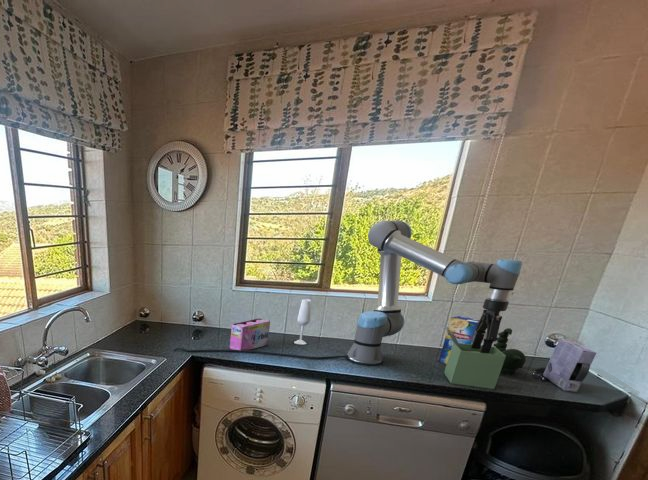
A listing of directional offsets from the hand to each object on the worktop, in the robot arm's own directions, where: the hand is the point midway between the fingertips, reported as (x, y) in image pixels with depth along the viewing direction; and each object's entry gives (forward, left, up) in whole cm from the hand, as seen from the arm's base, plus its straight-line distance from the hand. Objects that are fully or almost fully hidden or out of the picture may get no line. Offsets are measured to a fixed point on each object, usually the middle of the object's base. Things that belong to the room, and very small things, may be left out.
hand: (479, 352), depth 168 cm
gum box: (-96, +9, -13) cm, 98 cm away
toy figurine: (+18, +25, -13) cm, 34 cm away
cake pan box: (+34, +12, -13) cm, 39 cm away
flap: (-10, 0, +5) cm, 11 cm away
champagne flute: (-72, +29, -13) cm, 78 cm away
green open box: (-1, 0, -13) cm, 13 cm away
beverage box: (-1, +24, -13) cm, 27 cm away
